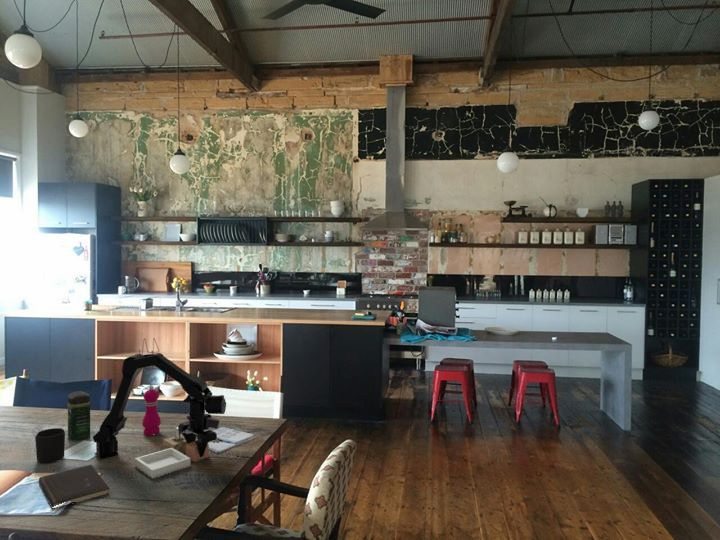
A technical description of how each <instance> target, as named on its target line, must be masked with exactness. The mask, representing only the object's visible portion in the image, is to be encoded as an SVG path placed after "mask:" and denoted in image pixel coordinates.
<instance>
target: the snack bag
mask: <svg viewBox="0 0 720 540" xmlns="http://www.w3.org/2000/svg"><path fill="white" fill-rule="evenodd" d="M212 431H213V432H215V433H216V434H217V439H218V441H219V443H217V442H215V443H213V442H208V444H209V451H211V452H213V453H214V454H220V453H223V452H225V450H226V451H228V450H230V449H232V448H236V447H237V446H241V445H243V444H245V443H247V442H249V441H252V440H254V439H255V437H254V436H255V434H252V433H249V432H245V431H241V430H236V429H232V428H228V427H225V426H221V427H218V428H217V429H212ZM227 449H228V450H227Z"/></svg>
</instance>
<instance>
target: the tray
mask: <svg viewBox="0 0 720 540" xmlns="http://www.w3.org/2000/svg"><path fill="white" fill-rule="evenodd" d="M191 461H192V460H191V458H189V457H187V456H186V454H185V453H181V452H179V451H177V450H175V449H174V448H169V449H165V450H164V449H162V450H159V451H156V452H151V453H149V454H145V455H142V456H141V455H140V456H137V457H135V458H134V467H135V466H136V467H137V468H136V467H135V468H136V469H138V468H139V469H140V470H139V469H138V470H139V471H141V472H142V471H143V472H144V473H143V472H142V473H143V474H145V475H146V474H147V475H146V476H148V477H149V478H150V477H151V479H152V480H154V479H156V477H157V478H159V477H163V476H165V474H166V475H168V473H169V474H172V473H175V472H178V471H181V470H184V469H187V468H189V467H191ZM183 468H184V469H183ZM180 469H181V470H180ZM177 470H178V471H177ZM174 471H175V472H174ZM171 472H172V473H171ZM153 478H154V479H153Z"/></svg>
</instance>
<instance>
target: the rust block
mask: <svg viewBox="0 0 720 540" xmlns="http://www.w3.org/2000/svg"><path fill="white" fill-rule="evenodd" d="M209 453H210V450H209V444H207V446H206V449H205V452H204V455H203V457H200V455H199V452H198V449H197V446H196V443H195V442H191V443H188V444H186V452H185V455H186V456H187V457H189V458H191V461H192V460H193V461H192V462H194V461H195V462H197V461H196V460H198V461H200V460H199V459H201V460H203V459H202V458H204V459H206V458H205V457H207V458H209V457H210V455H209Z"/></svg>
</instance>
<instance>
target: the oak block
mask: <svg viewBox="0 0 720 540" xmlns="http://www.w3.org/2000/svg"><path fill="white" fill-rule="evenodd" d="M162 442H163V450H165V449H169V448H174V449H175V450H177V451H179V452H181V453H182V454H184V453H183V452H185V453H186V444H187V442H186V440H185V438H184V437H183V435H182V441H179V442H175V435H174V436H172V437H168V438H164V439H163V441H162Z"/></svg>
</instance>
